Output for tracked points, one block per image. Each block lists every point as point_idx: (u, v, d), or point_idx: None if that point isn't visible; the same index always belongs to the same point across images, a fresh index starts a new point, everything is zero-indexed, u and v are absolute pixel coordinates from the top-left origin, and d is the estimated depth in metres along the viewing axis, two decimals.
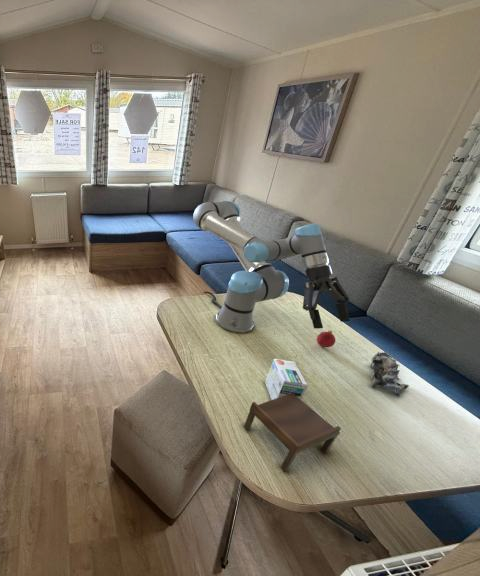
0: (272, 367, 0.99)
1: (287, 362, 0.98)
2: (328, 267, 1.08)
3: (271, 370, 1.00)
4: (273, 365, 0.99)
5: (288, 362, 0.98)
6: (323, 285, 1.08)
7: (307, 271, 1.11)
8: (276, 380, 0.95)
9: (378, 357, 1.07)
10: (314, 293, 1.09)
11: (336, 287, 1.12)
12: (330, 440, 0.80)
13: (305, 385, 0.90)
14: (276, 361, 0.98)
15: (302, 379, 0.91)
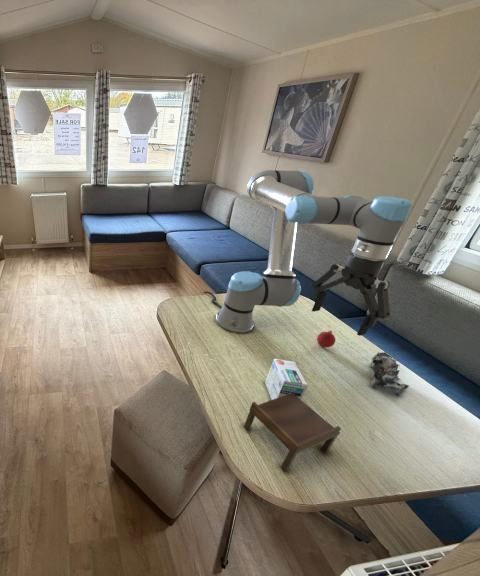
0: (272, 367, 0.99)
1: (287, 362, 0.98)
2: (357, 261, 0.83)
3: (271, 370, 1.00)
4: (273, 365, 0.99)
5: (288, 362, 0.98)
6: (345, 277, 0.88)
7: None
8: (276, 380, 0.95)
9: (378, 357, 1.07)
10: None
11: None
12: (330, 440, 0.80)
13: (305, 385, 0.90)
14: (276, 361, 0.98)
15: (302, 379, 0.91)
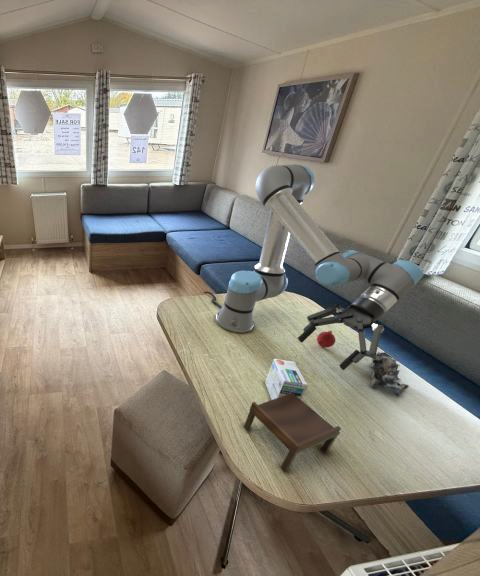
0: (272, 367, 0.99)
1: (287, 362, 0.98)
2: (367, 301, 0.91)
3: (271, 370, 1.00)
4: (273, 365, 0.99)
5: (288, 362, 0.98)
6: (346, 314, 0.95)
7: None
8: (276, 380, 0.95)
9: (378, 357, 1.07)
10: None
11: None
12: (330, 440, 0.80)
13: (305, 385, 0.90)
14: (276, 361, 0.98)
15: (302, 379, 0.91)
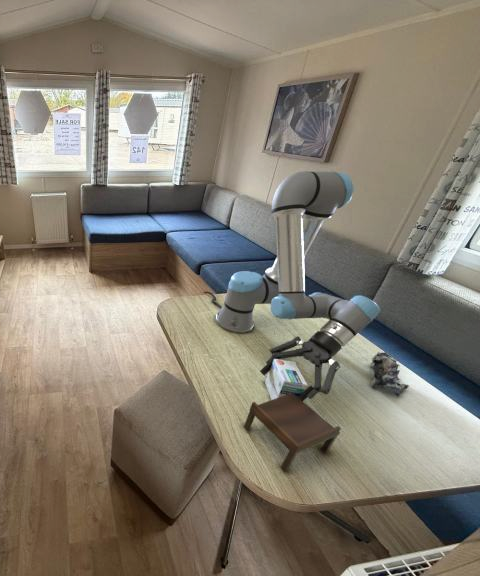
0: (272, 367, 0.99)
1: (287, 362, 0.98)
2: (325, 336, 0.92)
3: (271, 370, 1.00)
4: (273, 365, 0.99)
5: (288, 362, 0.98)
6: (306, 348, 0.95)
7: None
8: (276, 381, 0.95)
9: (378, 357, 1.07)
10: None
11: None
12: (330, 440, 0.80)
13: (305, 385, 0.90)
14: (276, 361, 0.98)
15: (302, 379, 0.91)
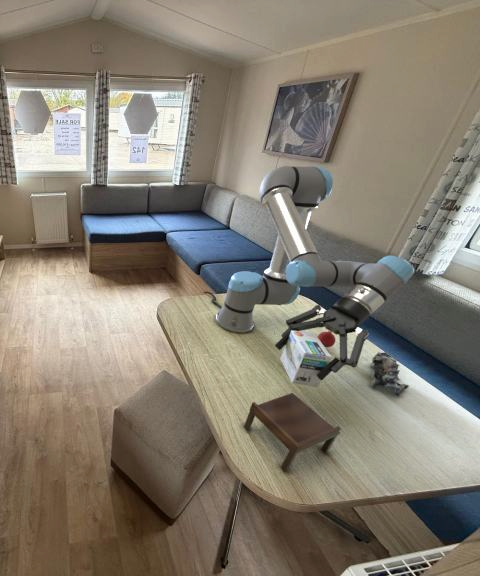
0: (289, 340, 0.88)
1: (306, 334, 0.86)
2: (351, 301, 0.81)
3: (288, 343, 0.88)
4: (290, 338, 0.87)
5: (307, 334, 0.86)
6: (328, 317, 0.84)
7: None
8: (295, 354, 0.84)
9: (378, 357, 1.07)
10: None
11: None
12: (330, 440, 0.80)
13: (329, 357, 0.78)
14: (294, 333, 0.86)
15: (325, 351, 0.80)
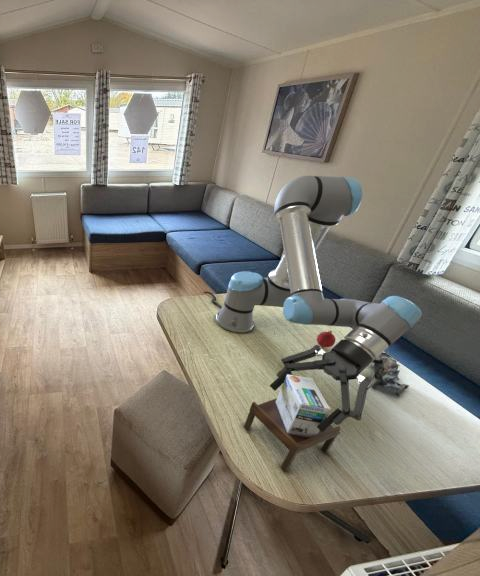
0: (285, 384, 0.82)
1: (303, 379, 0.80)
2: (352, 346, 0.74)
3: (283, 388, 0.82)
4: (286, 382, 0.81)
5: (304, 379, 0.80)
6: (327, 360, 0.77)
7: None
8: (291, 402, 0.78)
9: (378, 357, 1.07)
10: None
11: None
12: (330, 440, 0.80)
13: (327, 409, 0.72)
14: (290, 378, 0.80)
15: (323, 401, 0.74)
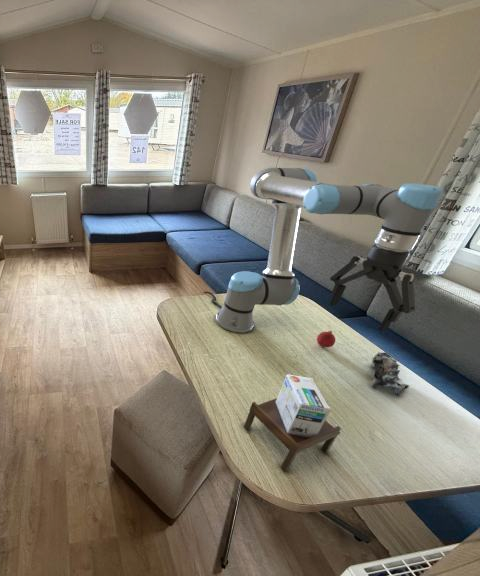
0: (285, 384, 0.82)
1: (303, 379, 0.80)
2: (381, 253, 0.79)
3: (283, 388, 0.82)
4: (286, 382, 0.81)
5: (304, 379, 0.80)
6: (367, 270, 0.84)
7: None
8: (291, 402, 0.78)
9: (378, 357, 1.07)
10: None
11: None
12: (330, 440, 0.80)
13: (327, 409, 0.72)
14: (290, 378, 0.80)
15: (323, 401, 0.74)
